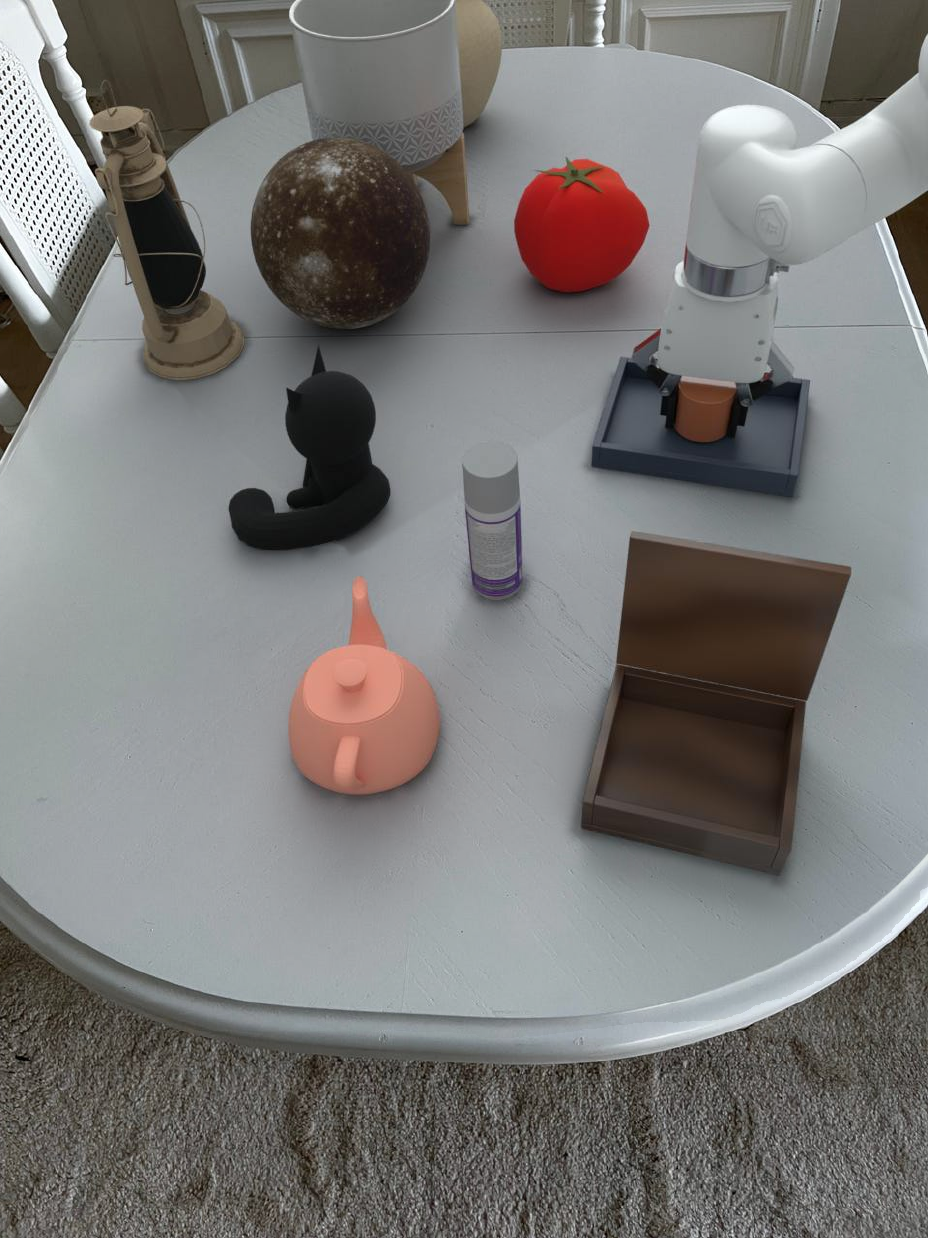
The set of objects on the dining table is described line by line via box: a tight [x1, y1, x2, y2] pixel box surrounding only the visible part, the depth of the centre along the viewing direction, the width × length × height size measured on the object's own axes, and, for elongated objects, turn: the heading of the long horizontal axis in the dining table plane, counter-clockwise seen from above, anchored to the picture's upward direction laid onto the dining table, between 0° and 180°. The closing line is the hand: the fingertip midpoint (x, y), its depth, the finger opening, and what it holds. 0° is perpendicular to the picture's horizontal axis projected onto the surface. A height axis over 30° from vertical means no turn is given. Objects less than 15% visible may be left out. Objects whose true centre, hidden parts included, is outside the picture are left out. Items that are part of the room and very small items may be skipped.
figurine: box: [227, 344, 391, 552], centre depth 91 cm, size 16×14×15 cm
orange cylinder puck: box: [674, 376, 737, 442], centre depth 97 cm, size 6×6×5 cm
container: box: [461, 439, 524, 601], centre depth 83 cm, size 5×5×15 cm
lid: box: [615, 530, 852, 702], centre depth 70 cm, size 13×15×1 cm
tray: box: [590, 356, 811, 498], centre depth 98 cm, size 20×15×3 cm
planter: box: [288, 0, 470, 226], centre depth 119 cm, size 19×19×26 cm
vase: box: [455, 0, 503, 129], centre depth 135 cm, size 17×17×30 cm
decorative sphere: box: [250, 137, 431, 330], centre depth 109 cm, size 20×20×20 cm
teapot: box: [288, 576, 441, 795], centre depth 76 cm, size 12×18×10 cm
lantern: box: [88, 79, 245, 381], centre depth 103 cm, size 15×12×30 cm
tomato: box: [513, 156, 651, 293], centre depth 113 cm, size 16×14×14 cm
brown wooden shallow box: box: [580, 664, 807, 876], centre depth 74 cm, size 13×15×4 cm
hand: (701, 422), depth 98 cm, fingers closed on orange cylinder puck, 5 cm apart
